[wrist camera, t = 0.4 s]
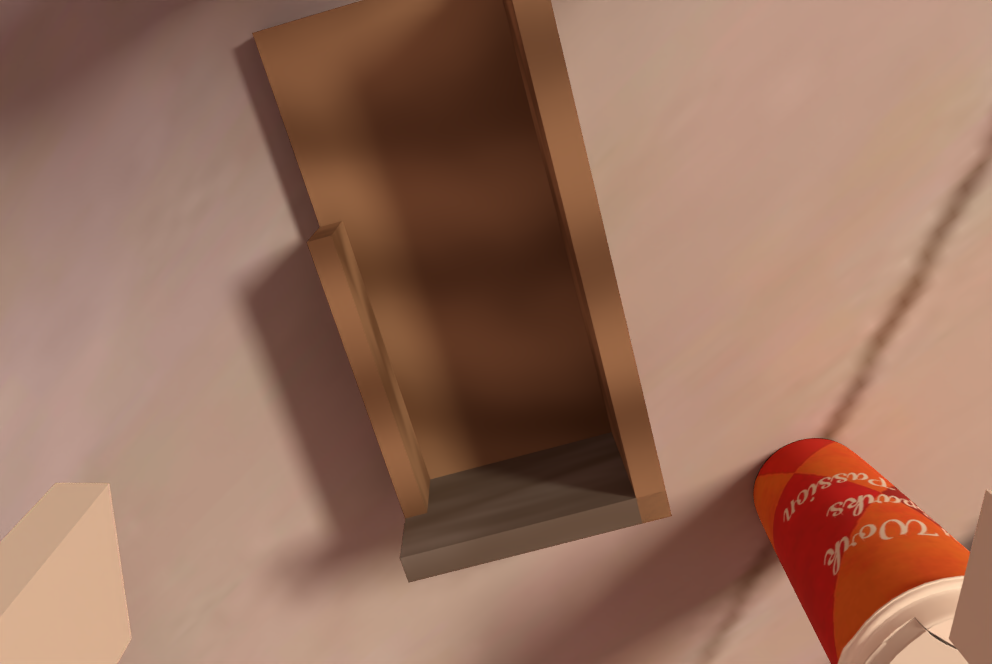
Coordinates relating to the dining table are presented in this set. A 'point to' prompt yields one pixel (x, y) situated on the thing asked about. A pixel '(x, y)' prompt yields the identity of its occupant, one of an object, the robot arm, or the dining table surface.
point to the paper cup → (861, 557)
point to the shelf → (468, 272)
